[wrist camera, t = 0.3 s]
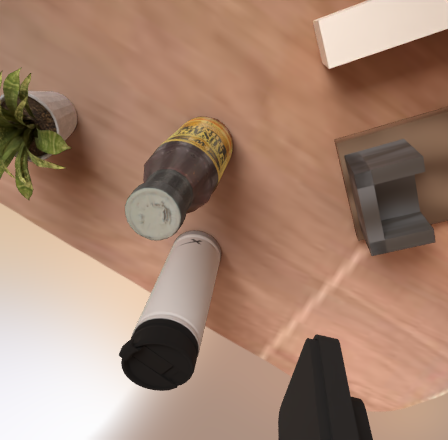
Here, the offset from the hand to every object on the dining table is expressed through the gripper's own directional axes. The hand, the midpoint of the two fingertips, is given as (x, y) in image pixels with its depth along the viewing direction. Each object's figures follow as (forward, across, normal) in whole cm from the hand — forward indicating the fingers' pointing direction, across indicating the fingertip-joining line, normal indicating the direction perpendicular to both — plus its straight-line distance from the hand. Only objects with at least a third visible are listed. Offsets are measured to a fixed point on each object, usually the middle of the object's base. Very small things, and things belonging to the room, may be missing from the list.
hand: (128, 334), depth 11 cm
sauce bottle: (+36, +3, +5) cm, 36 cm away
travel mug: (+36, +2, +19) cm, 41 cm away
